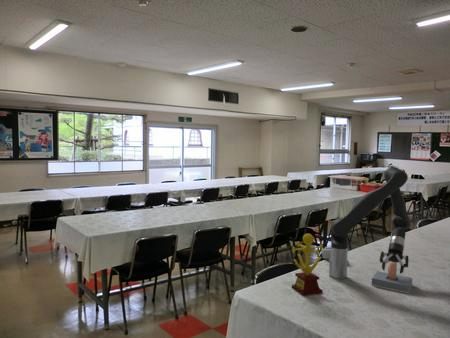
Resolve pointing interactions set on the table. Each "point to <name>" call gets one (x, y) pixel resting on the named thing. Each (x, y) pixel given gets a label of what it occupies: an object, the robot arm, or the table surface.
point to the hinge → (327, 253)
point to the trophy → (307, 269)
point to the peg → (392, 270)
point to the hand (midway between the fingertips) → (392, 271)
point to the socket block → (392, 282)
